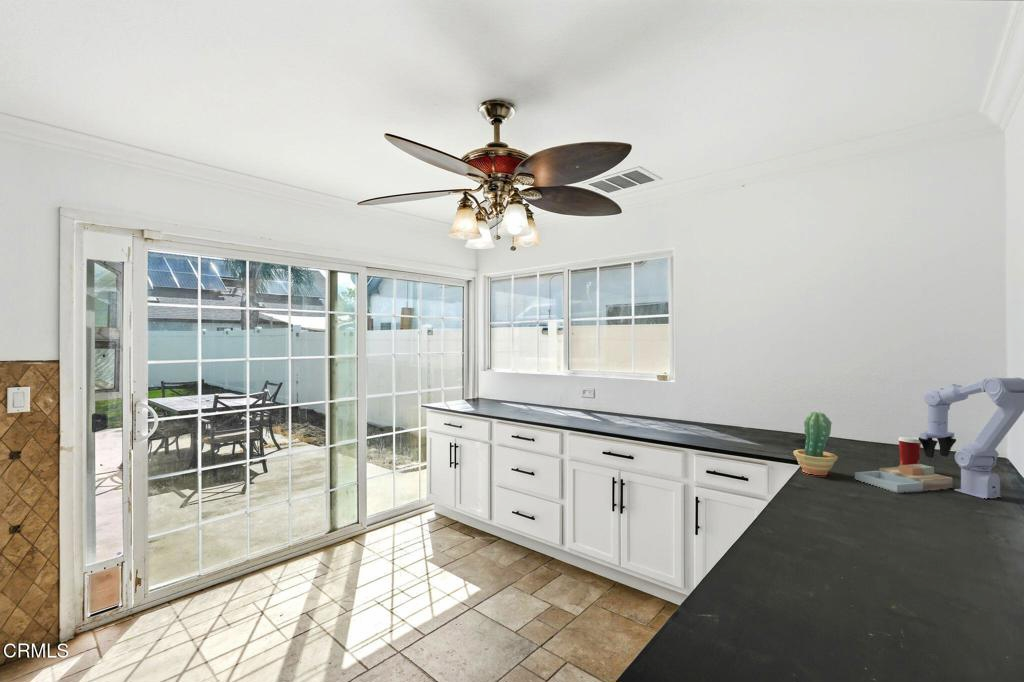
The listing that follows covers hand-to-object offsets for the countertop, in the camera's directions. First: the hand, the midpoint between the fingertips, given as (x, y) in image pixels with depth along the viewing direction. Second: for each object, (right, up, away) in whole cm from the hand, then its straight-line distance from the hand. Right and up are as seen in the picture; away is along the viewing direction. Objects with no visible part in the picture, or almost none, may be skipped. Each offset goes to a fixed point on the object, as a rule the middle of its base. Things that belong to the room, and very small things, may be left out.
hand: (936, 456), depth 182 cm
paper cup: (+2, -10, +14) cm, 18 cm away
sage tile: (-8, -6, -2) cm, 10 cm away
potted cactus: (-41, -9, +9) cm, 43 cm away
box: (-24, -9, -6) cm, 26 cm away
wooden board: (-11, -10, -3) cm, 15 cm away
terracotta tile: (-13, -6, -3) cm, 15 cm away
